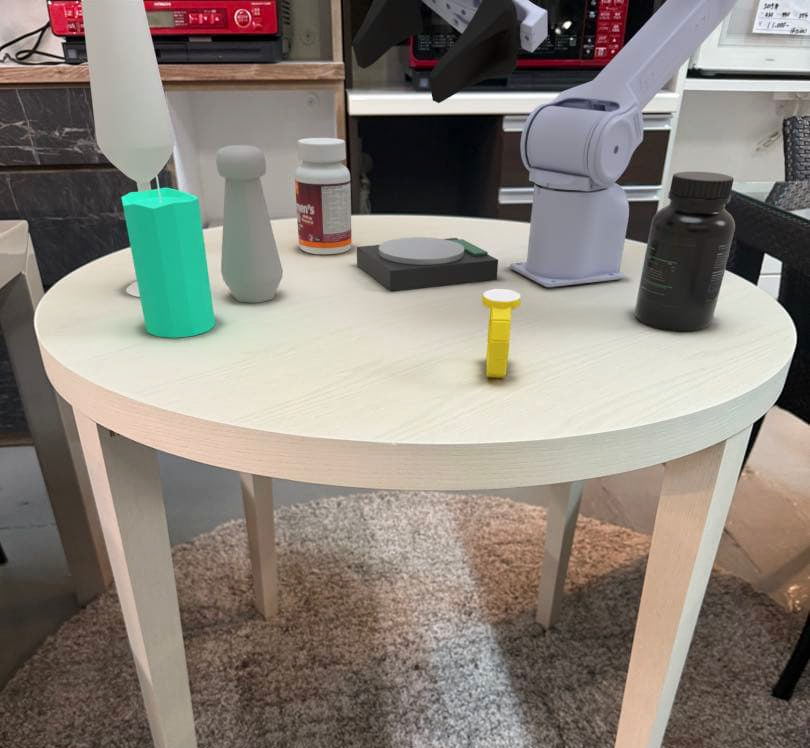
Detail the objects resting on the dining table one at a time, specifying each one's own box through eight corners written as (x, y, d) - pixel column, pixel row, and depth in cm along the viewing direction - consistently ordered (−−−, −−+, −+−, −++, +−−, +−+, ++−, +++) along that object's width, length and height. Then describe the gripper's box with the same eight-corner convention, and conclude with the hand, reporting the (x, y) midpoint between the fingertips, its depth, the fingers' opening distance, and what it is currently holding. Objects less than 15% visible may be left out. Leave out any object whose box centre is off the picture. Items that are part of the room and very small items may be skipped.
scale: (455, 255, 87) (456, 232, 85) (496, 279, 79) (498, 253, 78) (356, 265, 83) (356, 240, 81) (390, 291, 75) (390, 264, 74)
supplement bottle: (687, 305, 72) (718, 168, 66) (726, 329, 67) (764, 182, 60) (621, 309, 71) (645, 169, 64) (655, 334, 66) (687, 184, 59)
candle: (152, 315, 68) (125, 169, 62) (219, 314, 69) (200, 169, 62) (138, 338, 63) (108, 182, 57) (211, 337, 64) (189, 182, 57)
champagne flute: (182, 274, 79) (139, -9, 65) (205, 291, 74) (164, -10, 61) (117, 284, 76) (57, -11, 62) (138, 302, 71) (78, -13, 58)
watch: (477, 356, 61) (482, 281, 58) (512, 357, 61) (519, 282, 58) (477, 385, 56) (482, 305, 53) (514, 387, 56) (522, 307, 53)
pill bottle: (289, 247, 89) (281, 139, 82) (333, 240, 92) (329, 135, 86) (317, 258, 85) (311, 145, 78) (362, 250, 88) (360, 141, 82)
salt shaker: (272, 308, 70) (258, 152, 63) (214, 303, 71) (194, 150, 64) (292, 289, 75) (281, 143, 68) (238, 285, 76) (221, 141, 69)
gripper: (427, -125, 58) (311, -11, 56) (585, -74, 53) (464, 54, 51) (440, -30, 64) (336, 76, 62) (582, 24, 59) (474, 141, 57)
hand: (395, 72), depth 57 cm, fingers open, 7 cm apart
